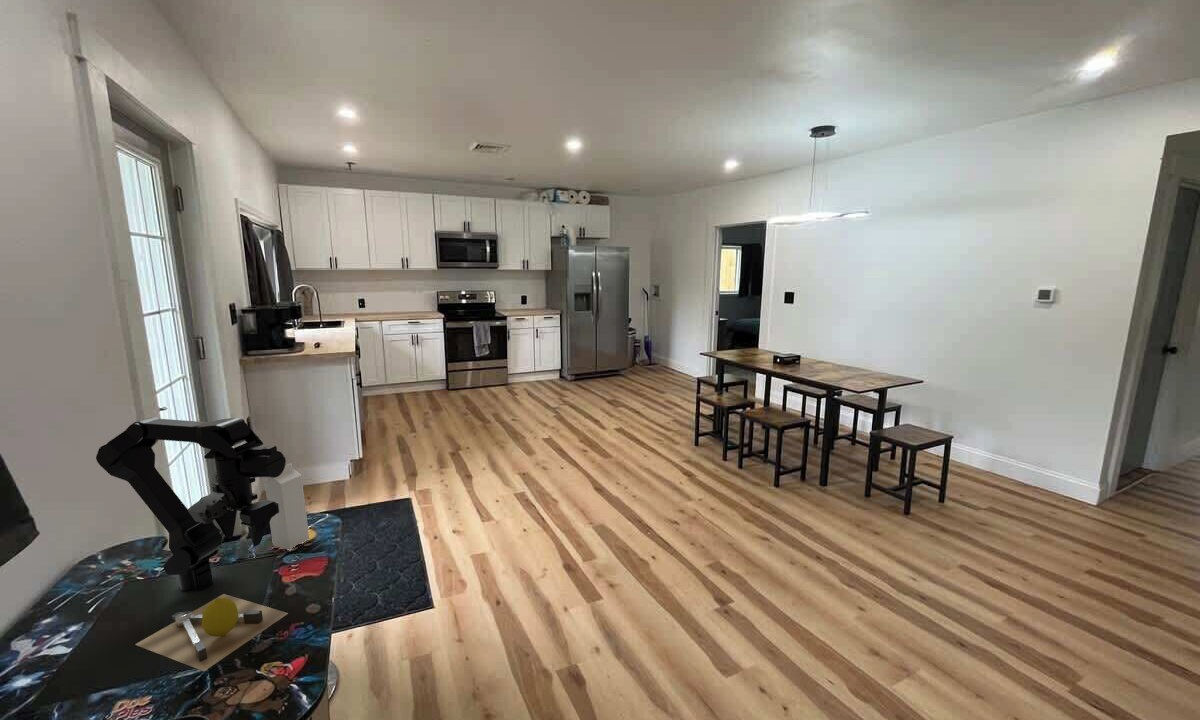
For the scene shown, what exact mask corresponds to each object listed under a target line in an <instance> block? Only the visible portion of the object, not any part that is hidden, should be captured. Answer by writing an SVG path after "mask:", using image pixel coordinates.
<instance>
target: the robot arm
mask: <svg viewBox="0 0 1200 720" xmlns="http://www.w3.org/2000/svg"><path fill="white" fill-rule="evenodd" d="M158 441H170V442H184V443H194V444H198V445H199V446H200V447H201V448H203V449H206V450H208V452H207V453H206V454H205V455H204V456H203V458H204V459H205V460H209V459H211V460H214V466H215V471H216V479H217V482H214V483H212V484H213V485H212V487H211V488H212V492H211V493H209V494H208V495H205V496H203V497H200V499H199V500H198V501H196V502H195V503H194V504H192V505H191V506H190V507H189V508H188V507H187V506H186V505H185V504H184V503H183V501H182V500H181V499H180V498H179V496H178V495H177V494H176V492H175V491H174V490H173V489H172V488H171V486H170V485H169V483H168V482H167V481H166V480H165V478H164V477H163V476H162V475H161V473H160V472H159V471H158V470H157V469H156V454H155V450H153V447H154V446H155V445H157V443H158ZM242 443H243V444H242ZM239 444H240V445H239ZM263 445H264V442H263V441H262V440H261V439H260V437H259V436H258V435H257V434H256V433H255V432H254V431H253V429H251V427H250V426H249V425H248V423H246V421H245V419H243V418H240V417H231V418H224V419H217V420H212V421H200V420H199V421H197V420H196V421H195V420H183V419H180V420H179V419H172V418H171V419H170V418H168V419H167V418H160V417H155V416H154V417H147V418H145V419H140V420H137V421H134V422H132V424H130V425H129V426H128V427H127V428H125V430H124V431H122V432H121V433H120V434H118V435H116V436H115V437H113V438H112V439H111V440H109V441H108V442H107V443H106V444H103V445H101V446H100V447H99V449H98V450H97V454H96V457H95V460H96V462H97V464H98V465H99V466H100V467H101V468H102V469H103V470H104V471H105V472H106V473H108V475H110V476H112V477H114V478H116V479H120V480H122V481H126V482H127V483H128V484H129V485H130V486H131V488H133V490H134V491H135V492H136V494H137V495H138V496H139V497H140V499H141V500H142V501H143V502H144V504H145V505H146V506H147V508H148V509H149V510H150V511H151V513H152V514H153V515H154V516H155V517H156V518H157V520H158V521H159V522H160V524H161V525H162V526H163V527H164V528H165V530H166V531H167V533H168V549H169V550H170V552H171V554H172V555H171V556H170V558H169V559H168V560H167V561H166V562H165V563H164V564H163V566H162V567H163V569H164V572H165V573H166V575H169V576H171V575H172V576H174V575H176V576H177V577H178V583H179V588H180V591H181V592H184V593H188V592H189V593H190V592H193V591H194V592H195V591H197V592H198V591H199V592H200V591H203V590H205V589H207V588H208V587H210V586H212V585H214V578H213V577H214V576H213V571H212V568H211V567H212V566H211V562H210V559H211V558H213V557H214V556H217V555H218V554H219V551H220V548H221V546H222V541H223V536H222V534H221V532H222V533H223V535H224V537H225V538H226V539H227V540H228V539H232V538H233V537H234V533H235V527H236V520H237V513H238V511H239V515H238V516H239V519H240V521H241V522H240V524H241V525H243V526H245V527H247V529H248V533H249V536H250V540H251V542H252V545H253V547H258V546H259V545H261V542H262V540H263V537H264V535H265V532H266V530H267V528H268V526H269V525H270V520H271V518H272V517H273V516H275V515H276V514H277V513H279V504H278V503H276V502H273V501H269V500H267V499H265V498H264V499H261V500H259V501H256V502H254V503H253V501H255V500H258V498H259V497H258V493H254V492H253V488H252V483H255V482H256V478H267V479H269V478H275V477H278V476H279V475H281V473H282V472H283V470H284V468H285V465H287V464H286V463H287V462H286V460H287V459H286V457H285V456H284V454H283V452H281V451H279V450H278V448H277V445H268V446H263ZM234 446H235V447H234ZM213 521H215V522H216V524H218V526H219V528H218V527H217V526H216V525H215V523H214V522H213Z"/></svg>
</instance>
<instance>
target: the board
mask: <svg viewBox="0 0 1200 720" xmlns="http://www.w3.org/2000/svg"><path fill="white" fill-rule="evenodd" d="M217 598H228V599H231V600H232V601H233V602H234V603H235V604H236V606H237V609H238V614H244V613H245V612H246V611H251V610H262V616H263V621H262V622H261V623H260V624H236V625H235V626H234V627H233V629H232V630H231V631H229V632H228V633H226V635H225V636H223V637H221V636H218V637H213V636H210V635H208V634H206V633H205V631H204V629H203V627H202V625H192V626H193V628H194V630H195V632H196V634H197V635H198V637H199V639H200V641H201V640H202V642H203V644H204V646H205V648H206V653H207V659H205V660H203V661H201V662H200V661H199V659H198V657H197V655H196V653H195V651H194V648H193V646H192V644H191V642H190V640H189V638H188V636H187V634H186V632H185V630H184V628H183V627H182V628H178V627H177V626H176V620H174V621H173V622H172V623H170V624H169V625H166V626H165V627H163V628H162V629H161V628H160V630H158V631H156V632H155V633H153V634H151V635H149V636H148V637H146V638H144V639H142V640H140V641H139V642H137V643H135V644H134V645H135V646H137V647H140V648H142V649H144V650H147V651H151V652H152V653H156V654H158V655H161V656H163V657H165V658H169V659H170V660H173V661H176V662H178V663H181V664H184V665H186V666H189V667H192V668H194V669H196V670H199V671H202V672H205V671H207V670H208V669H210V668H211V667H213V666H214V665H215V664H217V663H219V662H220V661H222V660H224V658H226V657H227V656H229V655H230V654H231V653H233V652H234V651H236V650H237V649H239V648H241V647H242V646H243V645H245V644H246V643H248V642H249V641H251V640H252V639H254V638H255V637H256V636H257V635H259V634H260V633H262V632H264V631H265V630H267V629H268V628H269V627H272V625H274V624H275V623H277V622H278V621H280V620H281V619H283V618H284V617H285V616H287V615H289V613H288V612H285V611H282V610H279V609H276V608H272V607H269V606H266V605H262V604H259V603H256V602H253V601H249V600H245V599H242V598H238V597H235V596H232V595H229V594H226V593H223V594H221V595H219V596H217V597H216V598H214V599H212V600H211V601H209V602H207V603H205V604H204V605H201V606H200V607H198V608H197V609H195V610H193V611H191V612H192V615H203V612H204V610H205V608H206V607H207V606H208V605H209V604H210V603H211V602H213V601H214V600H216V599H217Z"/></svg>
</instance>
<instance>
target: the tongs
mask: <svg viewBox="0 0 1200 720" xmlns="http://www.w3.org/2000/svg"><path fill="white" fill-rule="evenodd" d="M192 612H193V611H191V610H187V611H186V610H185V611H183V612H182V611H178V612H176V613H174V614H173V615H171V618H172V620H173V621H176V626H177V627H178V628H182V627H183V628H184V630H185V632H186V634H187V636H188V638H189V640H190V642H191V644H192V646H193V648H194V651H195V653H196V655H197V657H198V659H199V661H200V662H201V661H203V660H205V659H207V653H206V648H205V646H204V644H203V642H202V640H201V641H200V639H199V637H198V635H197V634H196V632H195V630H194V628H193V626H192V625H202V616H203V615H192ZM262 621H263V616H262V610H251V611H246V612H245V613H244V614H238V620H237V623H236V624H260V623H261V622H262Z"/></svg>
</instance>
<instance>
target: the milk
mask: <svg viewBox="0 0 1200 720" xmlns="http://www.w3.org/2000/svg"><path fill="white" fill-rule="evenodd" d="M302 477H303V476H302V474H301V473H299V472H298V471H297V470H296V469H295V468H294V467H293V463H291V462H290V463H288V464H285V468H284V470H283V472H282V473H281V475H279V476H278V477H275V478H267V479H266V480H264V489H265V497H266V500H269V501H273V502H276V503H278V504H279V513H277V514H276V515H275V516H273V517H272V518H271V520H270V522H269V527H270V532H271V533H270V534H271V540H272V546H273V545H274V546H277V547H280V548H284V549H289V550H290V549H292V548H293V547H295V546H296V545H298V544H300V543H302V542H304V541H305V540H307V539H309V540H310V533H309V525H308V524H309V523H308V517H307V509H306V502H305V493H304V486H303V485H304V484H303V478H302Z"/></svg>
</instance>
